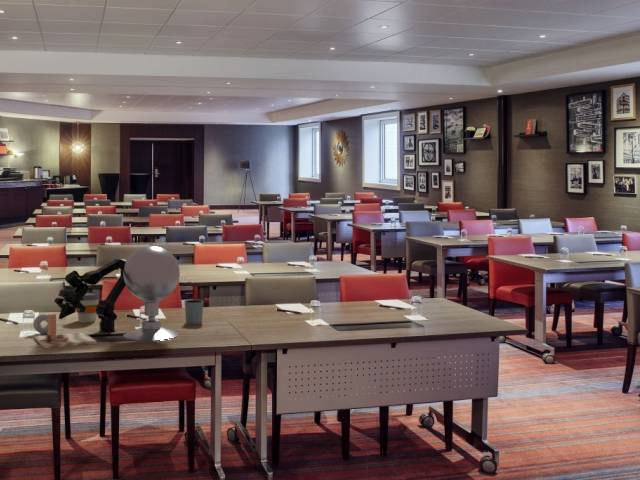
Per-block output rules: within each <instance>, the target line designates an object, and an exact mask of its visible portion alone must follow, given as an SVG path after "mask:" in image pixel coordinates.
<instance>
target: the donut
mask: <svg viewBox="0 0 640 480" xmlns="http://www.w3.org/2000/svg"><path fill="white" fill-rule="evenodd" d="M48 314H49V313H42V314H41V313H40V314H38V315H37V316H36V317H35V318H34V320H33V329H34V330H35V331H36V332H37V333H39V334H44V335H45V334H48ZM44 321H45V322H46V323H47V324H46V326H42V324H41V323H42V322H44Z"/></svg>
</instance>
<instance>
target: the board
mask: <svg viewBox="0 0 640 480" xmlns="http://www.w3.org/2000/svg"><path fill="white" fill-rule="evenodd" d="M56 335H57V338H58V339H61V338H63V336H64V337H68V338H69V340H64V341H59V342H58V341H55V340H52V339H51V335H48V334H47V338H46V335H38V336H37V335H35V336H34V337H33V339H34V340H35V342H37V343H38V344H39V345H40V346H41V347H42V348H44V349H50V348H51V349H53V348H63V347H73V346H83V345H84V346H85V345H95V344H97V340H96V339H94V338H93V337H92V336H90V335H88V334H87V333H85V332H74V333H73V332H72V333H61V334H59V333H58V334H56ZM52 347H53V348H52Z"/></svg>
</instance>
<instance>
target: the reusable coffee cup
mask: <svg viewBox="0 0 640 480" xmlns="http://www.w3.org/2000/svg"><path fill="white" fill-rule="evenodd" d="M83 299H84V300H83V301H80V302H81V303H82V304H83V305H84V306H85V307H86V310H85V312H84V313H81V312H79V310H80V309H76V310H75V311H76V313H77V318H78V319H77V320H78V322H79V323H83V324H85V323H86V322H90V323H94V322H93V321H95V322H96V321H97V317H98V315H97V313H96V308H97V307H96V306H97V305H98V304H99V301H100V300H99V299H100V293H99V292H97V291H92V292H87V293H86V295H85V296H84V297H83ZM86 324H87V323H86Z"/></svg>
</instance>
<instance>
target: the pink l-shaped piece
mask: <svg viewBox="0 0 640 480" xmlns="http://www.w3.org/2000/svg"><path fill="white" fill-rule="evenodd" d="M47 314H48V333H47V335H51V339H52V340H55V341H58V342H59V341H64V340H69V338H68V337H64V336H63V338H61V339H58V338H57V335H58V334H57V314H56V313H47ZM47 335H45V336H46V338H47Z"/></svg>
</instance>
